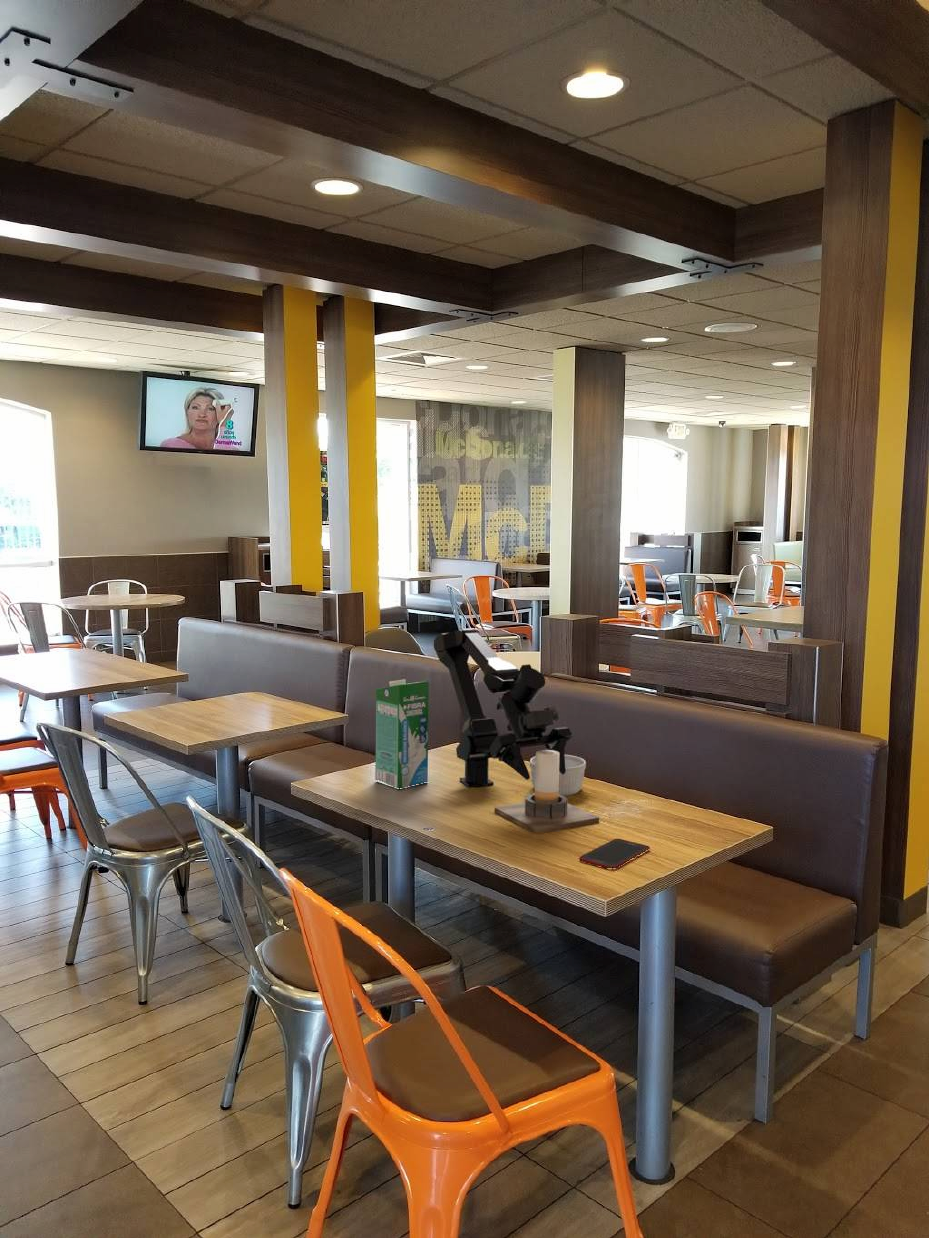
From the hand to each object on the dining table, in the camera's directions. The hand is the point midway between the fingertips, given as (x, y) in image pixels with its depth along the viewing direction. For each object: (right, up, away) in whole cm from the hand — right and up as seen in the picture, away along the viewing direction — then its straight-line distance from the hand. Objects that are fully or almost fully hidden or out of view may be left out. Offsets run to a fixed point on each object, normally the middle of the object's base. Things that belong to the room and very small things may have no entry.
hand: (546, 776), depth 200 cm
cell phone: (+11, -12, -21) cm, 27 cm away
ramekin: (+4, -7, +22) cm, 23 cm away
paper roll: (0, -8, +1) cm, 8 cm away
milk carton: (-33, -6, +25) cm, 42 cm away
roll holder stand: (0, -9, +1) cm, 9 cm away
